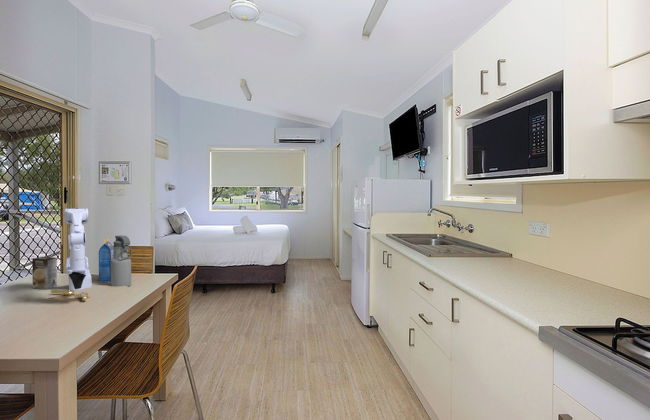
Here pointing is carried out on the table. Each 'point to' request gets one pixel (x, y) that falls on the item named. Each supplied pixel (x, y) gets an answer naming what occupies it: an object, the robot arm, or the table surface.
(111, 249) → the blue plastic bottle
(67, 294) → the lever
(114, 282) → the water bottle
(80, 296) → the lever
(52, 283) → the coffee box
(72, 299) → the base
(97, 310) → the table surface
